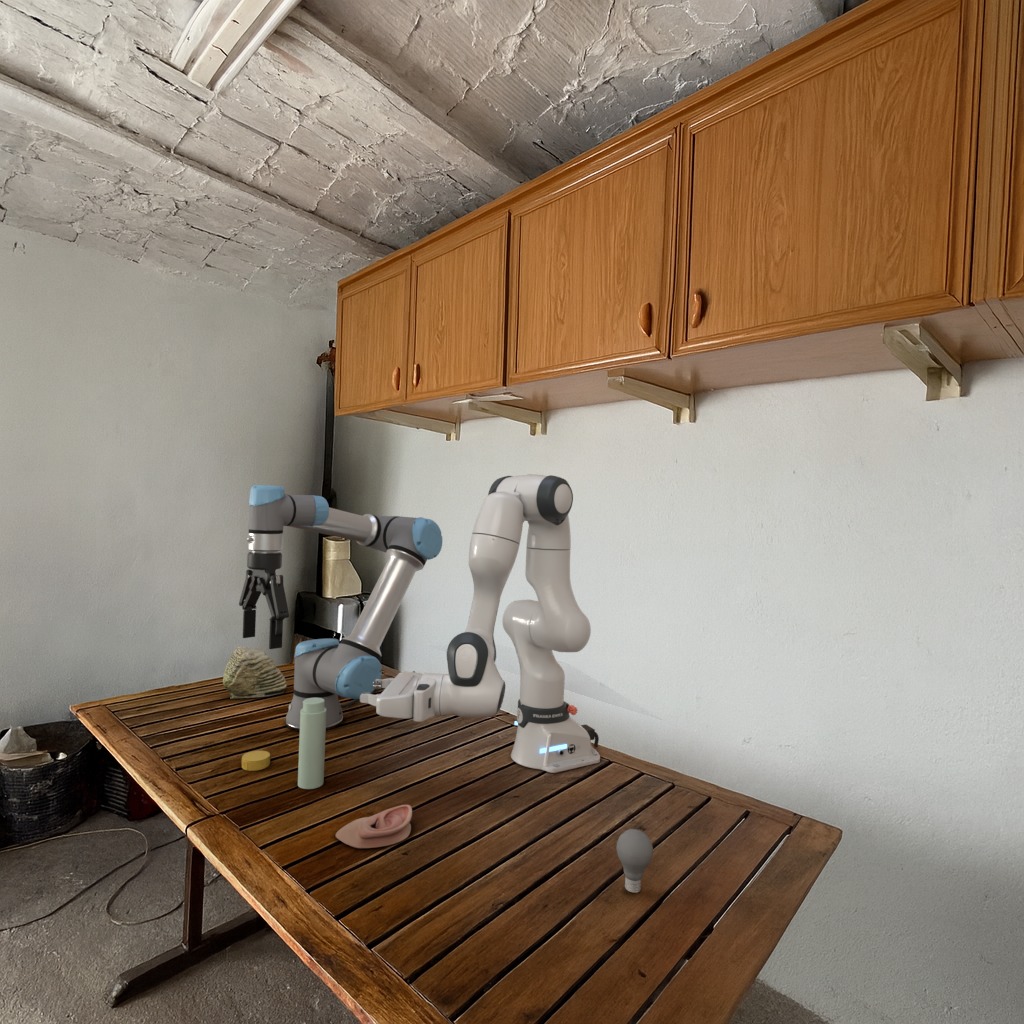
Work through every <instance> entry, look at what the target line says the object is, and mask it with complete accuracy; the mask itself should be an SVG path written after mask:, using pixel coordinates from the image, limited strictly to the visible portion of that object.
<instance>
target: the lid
mask: <svg viewBox="0 0 1024 1024" xmlns="http://www.w3.org/2000/svg"><path fill="white" fill-rule="evenodd" d="M240 763H241V765H240V766H241V769H243V770H245V771H249V772H257V771H260V770H264V769H266V768H268V767H269V766H270V764H271V753H270V752H269V751H267V750H252V751H248V752H245V753H244V754H243V755H242V756H241V762H240Z"/></svg>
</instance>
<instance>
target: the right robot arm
mask: <svg viewBox="0 0 1024 1024" xmlns="http://www.w3.org/2000/svg"><path fill="white" fill-rule="evenodd" d="M571 487H572V486H571V485H570V484H569V482H568V481H567V480H566V479H564V478H562V477H561V476H556V475H551V474H549V475H544V474H532V473H531V474H530V473H528V474H523V475H513V476H512V475H506V476H501V477H499V478H496V479H495V480H494V482H492V484H491V486H490V487H489V489H488V493H487V496H485V498H484V500H483V502H482V504H481V506H480V509H479V511H478V514H477V516H476V519H475V522H474V526H473V529H472V533H471V537H470V542H469V548H468V549H469V550H468V567H469V570H470V573H471V578H472V582H473V595H472V596H473V597H472V602H471V607H470V610H469V616H468V621H467V625H466V628H465V630H464V632H461V633H458V634H456V635H455V636H454V637H453V638H452V639H451V640H450V642H449V643H448V645H447V648H446V661H447V670H448V673H439V672H438V673H437V672H416V671H415V672H413V671H400V672H399V673H397V675H396V676H395V677H388V678H383V679H382V678H381V679H376V680H375V681H374V682H373V688H374V689H378V690H382V689H383V691H382V692H381V693H376V694H373V693H371V694H370V693H365V692H364V693H362V694H361V695H360V701H359V702H360V703H361V704H368V705H370V706H374V707H375V711H376V712H375V713H376V714H377V715H379V716H380V717H384V718H390V719H402V720H403V719H404V720H408V719H412V720H413V722H415V723H416V722H417V723H422V722H425V721H426V720H428V719H430V718H433V717H436V716H437V717H446V716H456V717H459V718H468V719H469V718H470V719H473V718H474V719H475V718H476V719H478V718H479V719H480V718H482V719H483V718H490V717H494V716H495V715H497V714H498V713H499V712H500V710H501V708H502V705H503V703H504V698H505V693H506V680H504V679H503V678H502V676H501V674H500V671H499V670H498V668H497V665H496V659H497V648H496V647H497V646H496V643H495V637H494V633H495V632H494V631H495V625H496V621H497V616H498V611H499V607H500V606H499V605H500V602H501V596H502V594H503V591H504V589H505V586H506V585H507V581H508V580H509V577H510V575H511V573H512V570H513V568H514V565H515V563H516V559H517V556H518V554H519V549H520V544H521V541H522V534H523V525H524V523H525V522H527V524H528V528H527V534H526V535H527V536H526V550H525V551H526V552H525V569H524V570H525V571H524V572H525V579H526V582H527V583H528V584H529V585H530V586H531V587H532V588H533V590H534V592H535V594H536V598H537V600H534V599H517V600H513V601H511V602H510V603H509V604H508V605H507V606H506V607H505V609H504V610H503V614H502V620H501V621H502V627H503V630H504V632H505V633H506V634H507V635H508V638H510V640H511V643H512V644H513V647H514V649H515V653H516V656H517V661H518V665H519V673H520V676H519V678H520V680H519V682H520V683H519V699H518V700H517V708H516V709H517V710H516V720H515V721H514V726H516V727H517V728H516V734H515V739H514V743H513V746H512V750H511V753H510V758H511V759H512V761H513V762H514V763H516V764H517V765H519V766H523V767H526V768H530V769H535V770H541V771H544V772H547V773H551V774H556V773H561V772H565V771H570V770H574V769H577V768H582V767H586V766H591V765H596V764H599V763H600V762H601V755H600V753H599V752H598V750H597V749H596V748H598V746H599V740H600V739H599V735H598V733H597V731H596V729H595V728H593V727H592V726H590V725H588V724H580V723H579V722H577V721H576V720H575V719H574V718H573V717H571V716H576V715H577V713H578V711H579V710H578V708H577V707H576V706H575V705H573V704H570V703H568V702H567V701H565V684H566V683H565V682H566V681H565V680H566V674H565V670H564V669H563V667H562V666H561V665H560V663H559V662H558V660H557V659H556V657H555V655H554V651H555V652H558V653H578V652H580V651H582V650H584V649H585V647H586V646H587V644H588V643H589V641H590V639H591V633H592V629H591V622H590V620H589V618H588V616H587V615H586V614H585V613H584V611H582V609H581V608H580V605H579V604H578V601H577V599H576V597H575V594H574V591H573V587H572V582H571V551H572V548H571V547H572V545H571V543H572V540H571V539H572V536H571V535H572V533H571V525H570V517H569V514H570V512H571V509H572V507H573V502H574V494H573V490H572V488H571ZM570 715H571V716H570ZM592 741H594V743H593V746H592Z"/></svg>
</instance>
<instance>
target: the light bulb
mask: <svg viewBox="0 0 1024 1024" xmlns="http://www.w3.org/2000/svg"><path fill="white" fill-rule="evenodd" d="M615 849H616V854H617V857H618V859H619V861H620V863H621V865H622V867H623V873H624V874H623V875H624V876H625V878H624V888H625V890H627V891H628V892H630V893H634V894H635V893H639V892H640V891H641V889H642V887H641V886H642V879H643V877H644V875H645V871H646V868H647V867H648V866H649V864H650V863H651V861H652V859H653V855H654V847H653V843H652V841H651V838H649V836H648V835H647V834H646V833H645V832H643V831H642V830H641V829H636V828H629V829H627V830H625V831H623V832H622V833H621V834H620V835H619V837H618V839H617V841H616V847H615Z"/></svg>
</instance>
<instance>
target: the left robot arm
mask: <svg viewBox="0 0 1024 1024" xmlns="http://www.w3.org/2000/svg"><path fill="white" fill-rule="evenodd" d="M248 500H249V501H248V535H247V538H246V541H247V550H248V553H247V555H246V556H247V557H246V559H247V560H246V561H247V562H246V567H247V569H246V571H245V579H244V583H243V587H242V591H241V593H240V598H239V601H238V606H239V607H241V609H242V610H243V611H242V612H243V616H242V618H243V619H242V622H243V623H242V638H243V639H248V638H255V637H256V625H257V624H256V622H257V619H256V618H257V609H258V608H257V603H258V601H259V599H260V597H261V595H263V596H264V597H265V600H266V603H267V607H268V610H269V613H270V618H269V620H268V621H269V635H268V637H269V638H268V639H269V641H268V649H269V650H275V649H281V648H283V632H284V620H285V619H287V618H289V617H290V612H289V606H288V602H287V596H286V591H285V587H284V586H285V585H284V575H283V574H276V571H277V570H279V569H282V566H283V553H282V552H281V551H283V548H284V546H283V545H284V527H290V528H293V529H294V528H295V529H299V530H304V531H309V532H314V533H319V534H322V535H327V536H332V537H337V538H342V539H347V540H352V541H354V542H355V541H356V543H357V544H358V545H360V546H363V547H367V548H371V549H373V550H378V551H379V552H383V553H385V554H386V555H387V558H388V559H387V560H386V563H385V565H384V567H383V569H382V571H381V573H380V575H379V577H378V579H377V581H376V583H375V584H374V587H373V589H372V591H371V593H370V595H369V597H368V599H367V601H366V602H365V605H364V607H363V609H362V611H361V613H360V615H359V617H358V619H357V621H356V623H355V625H354V627H353V628H352V631H351V633H350V634H349V635H348V636H344V637H342V638H341V640H340V641H339V639H337V638H317V639H316V638H315V639H308V640H304V641H300V642H299V643H298V644H297V645H296V646H295V650H294V655H293V657H294V672H293V673H294V674H293V695H292V696H293V697H292V699H291V702H290V703H289V705H288V711H287V713H286V715H285V726H286V728H287V729H289V730H291V731H294V732H295V731H296V732H300V711H301V709H302V708H303V701H304V700H305V699H308V698H322V699H324V707H325V708H326V731H329V730H332V729H335V728H337V727H339V726H340V725H342V723H343V722H344V714H343V709H345V708H349V707H351V706H353V705H355V704H357V703H359V702H360V695H361V694H362V693H364V692H365V693H370V694H373V693H374V692H377V691H378V690H379V689H374V688H373V682H374V681H375V680H376V679H381V680H382V674H383V672H382V670H383V667H382V664H381V662H380V661H381V658H382V656H383V655H382V652H381V649H380V647H381V646H382V643H383V642H384V639H385V637H386V635H387V633H388V631H389V629H390V627H391V625H392V622H393V620H394V619H395V616H396V615H397V612H398V610H399V609H400V608H399V607H400V605H401V603H402V601H403V599H404V597H405V596H406V593H407V591H408V589H409V587H410V585H411V582H412V580H413V578H414V576H415V574H416V572H418V571H421V570H423V569H424V568H425V565H426V563H427V561H429V560H433V559H435V558H436V557H438V556H439V555H440V553H441V551H442V548H443V536H442V530H441V528H440V527H439V525H438V523H437V522H436V521H434V520H433V519H431V518H424V517H421V516H420V517H412V516H411V517H410V516H401V515H400V516H399V515H375V514H372V513H365V514H363V515H361V514H357V513H352V512H348V511H345V510H341V509H337V508H333V507H329V503H328V501H327V499H326V498H325V497H323V496H321V495H314V494H289V493H288V494H286V491H285V487H284V486H282V485H268V484H267V485H266V484H265V485H264V484H254V485H253V486H252V487H251V488H250V491H249V499H248ZM412 672H416V671H414V670H413V671H412ZM339 696H340V697H341V698H344V699H351V700H352V701H350V702H347V703H344V704H341V702H340V699H339Z"/></svg>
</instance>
